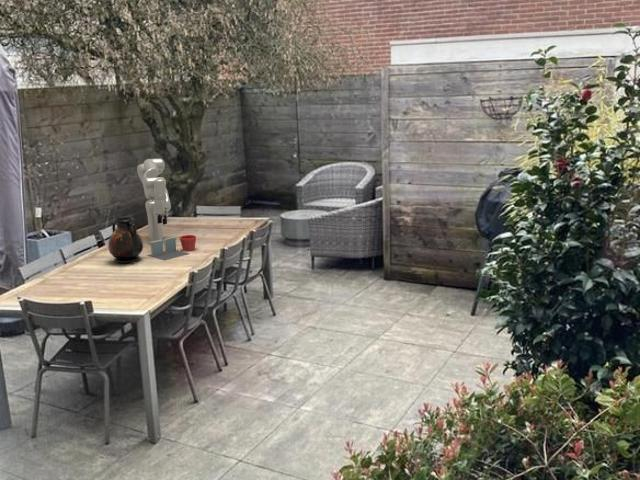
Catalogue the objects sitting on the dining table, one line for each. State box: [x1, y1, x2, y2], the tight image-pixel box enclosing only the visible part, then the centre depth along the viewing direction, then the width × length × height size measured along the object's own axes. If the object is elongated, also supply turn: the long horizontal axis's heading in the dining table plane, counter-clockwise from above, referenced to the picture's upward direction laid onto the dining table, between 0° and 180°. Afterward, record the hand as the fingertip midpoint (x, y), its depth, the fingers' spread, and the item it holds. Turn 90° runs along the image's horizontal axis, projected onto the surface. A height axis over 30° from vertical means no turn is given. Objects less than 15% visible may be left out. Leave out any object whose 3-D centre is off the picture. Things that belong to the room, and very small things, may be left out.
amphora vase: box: [107, 216, 144, 265], centre depth 384 cm, size 22×22×28 cm
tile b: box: [150, 240, 164, 256], centre depth 398 cm, size 2×8×10 cm, turn 141°
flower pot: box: [179, 234, 197, 252], centre depth 412 cm, size 11×11×10 cm
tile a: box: [163, 236, 177, 253], centre depth 406 cm, size 2×8×10 cm, turn 140°
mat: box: [146, 249, 190, 261], centre depth 400 cm, size 20×21×1 cm
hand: (162, 223), depth 407 cm, fingers open, 4 cm apart
